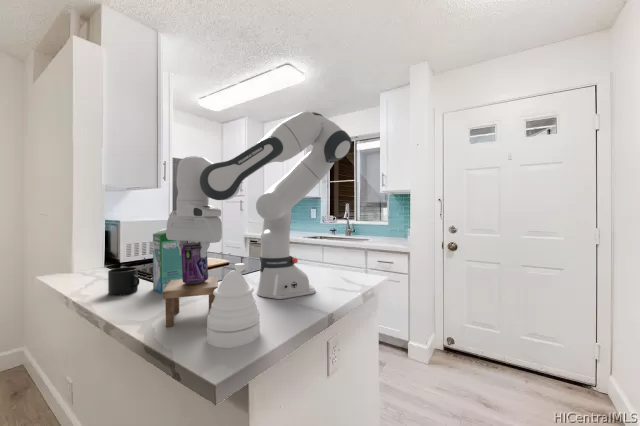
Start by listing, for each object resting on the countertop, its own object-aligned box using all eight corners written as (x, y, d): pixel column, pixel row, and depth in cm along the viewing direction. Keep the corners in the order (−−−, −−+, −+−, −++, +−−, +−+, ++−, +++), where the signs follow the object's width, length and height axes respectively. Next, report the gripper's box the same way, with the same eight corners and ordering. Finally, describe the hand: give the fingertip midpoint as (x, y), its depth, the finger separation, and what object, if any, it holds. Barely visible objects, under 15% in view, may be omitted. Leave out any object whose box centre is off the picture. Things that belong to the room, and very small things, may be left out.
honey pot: (237, 321, 81) (237, 259, 81) (270, 332, 74) (269, 264, 74) (196, 338, 70) (195, 266, 70) (229, 353, 63) (228, 273, 63)
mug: (128, 297, 104) (128, 272, 104) (101, 295, 107) (101, 271, 107) (148, 290, 114) (148, 267, 114) (123, 288, 116) (123, 266, 116)
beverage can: (192, 286, 80) (190, 244, 81) (177, 284, 84) (175, 244, 84) (213, 280, 86) (211, 241, 87) (198, 279, 90) (197, 241, 90)
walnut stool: (218, 306, 94) (217, 276, 94) (217, 321, 81) (217, 286, 81) (171, 311, 90) (171, 279, 90) (162, 328, 76) (162, 291, 76)
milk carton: (153, 289, 115) (152, 228, 115) (176, 284, 122) (176, 227, 121) (160, 293, 109) (160, 229, 109) (185, 288, 116) (184, 227, 115)
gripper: (160, 210, 87) (160, 255, 87) (208, 210, 78) (208, 260, 78) (178, 210, 92) (178, 252, 93) (225, 210, 84) (225, 257, 84)
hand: (192, 256), depth 85 cm, fingers open, 7 cm apart
